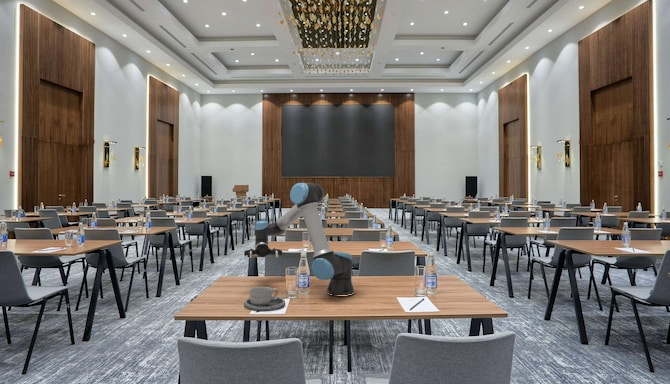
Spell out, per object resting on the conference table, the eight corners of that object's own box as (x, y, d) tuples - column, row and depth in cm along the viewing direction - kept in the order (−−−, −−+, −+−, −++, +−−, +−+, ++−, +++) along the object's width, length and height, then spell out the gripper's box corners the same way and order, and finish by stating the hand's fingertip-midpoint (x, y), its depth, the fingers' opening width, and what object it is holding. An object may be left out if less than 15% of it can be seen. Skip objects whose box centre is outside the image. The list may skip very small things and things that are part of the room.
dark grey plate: (291, 302, 212) (291, 298, 212) (274, 313, 193) (274, 309, 193) (256, 298, 218) (256, 294, 218) (236, 308, 199) (236, 304, 199)
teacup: (248, 308, 196) (249, 291, 196) (249, 301, 207) (250, 285, 207) (278, 307, 199) (278, 290, 199) (277, 301, 209) (278, 285, 209)
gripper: (284, 255, 241) (287, 261, 220) (239, 256, 235) (239, 262, 215) (284, 242, 241) (287, 247, 220) (240, 243, 235) (239, 248, 215)
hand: (264, 255), depth 217 cm, fingers open, 13 cm apart
